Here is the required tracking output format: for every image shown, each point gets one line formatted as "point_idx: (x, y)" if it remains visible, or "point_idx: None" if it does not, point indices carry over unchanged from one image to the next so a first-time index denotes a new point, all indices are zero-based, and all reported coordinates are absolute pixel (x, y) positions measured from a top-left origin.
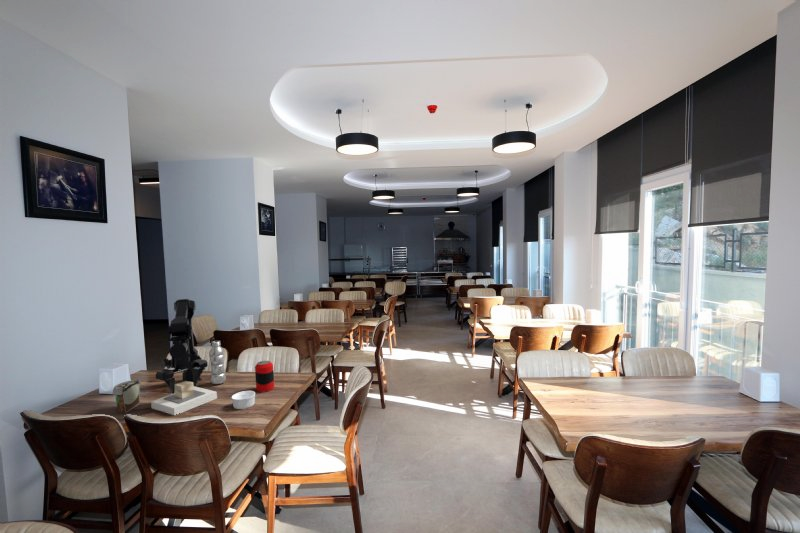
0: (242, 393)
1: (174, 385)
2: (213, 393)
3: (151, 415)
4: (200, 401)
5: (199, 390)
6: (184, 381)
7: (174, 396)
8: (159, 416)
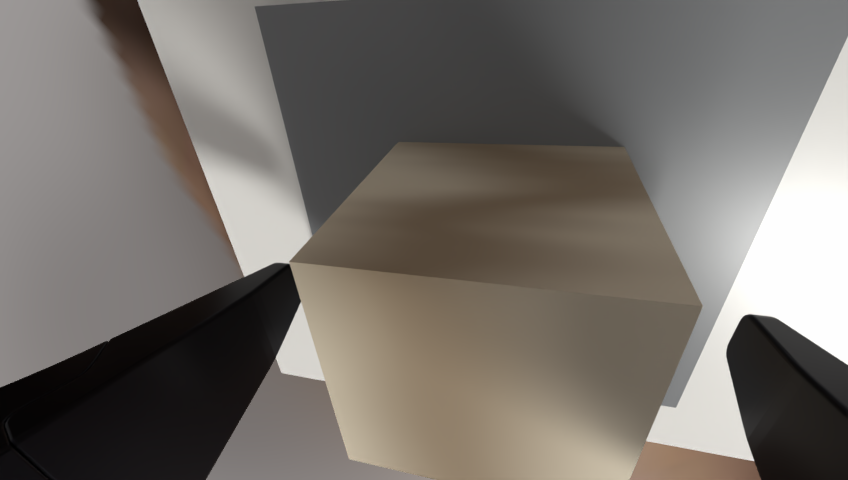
0: None
1: (205, 472)
2: (716, 447)
3: (178, 153)
4: None
5: (816, 233)
6: (614, 314)
7: (399, 119)
8: (228, 238)
